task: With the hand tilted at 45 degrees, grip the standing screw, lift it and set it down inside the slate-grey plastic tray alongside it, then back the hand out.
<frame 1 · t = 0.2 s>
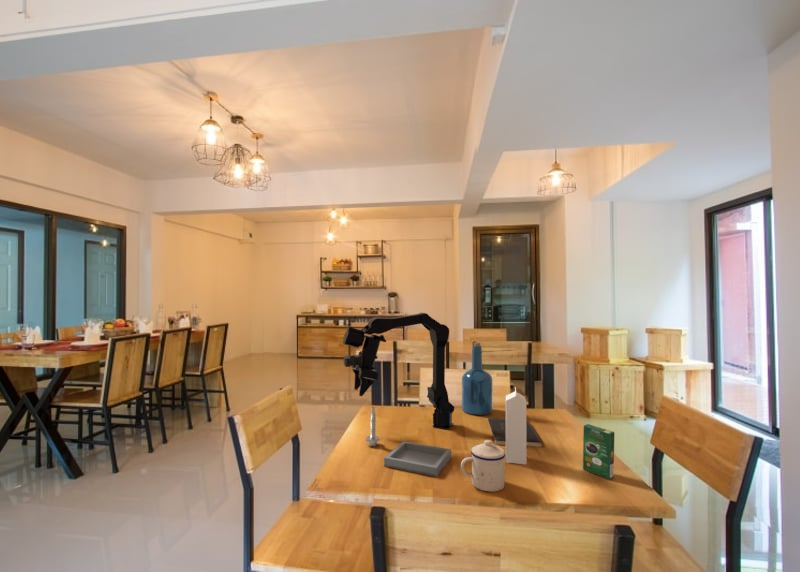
hand: (358, 392, 142), 15 cm above the table, tool tilted 15°, fingers open, 9 cm apart
hardcover book: (513, 435, 144), on the table
wine bottle: (477, 412, 171), on the table
tray: (418, 461, 120), on the table
teacup with lid: (482, 485, 106), on the table
screw: (372, 445, 133), on the table
coffee box: (598, 474, 112), on the table
milk: (515, 460, 121), on the table
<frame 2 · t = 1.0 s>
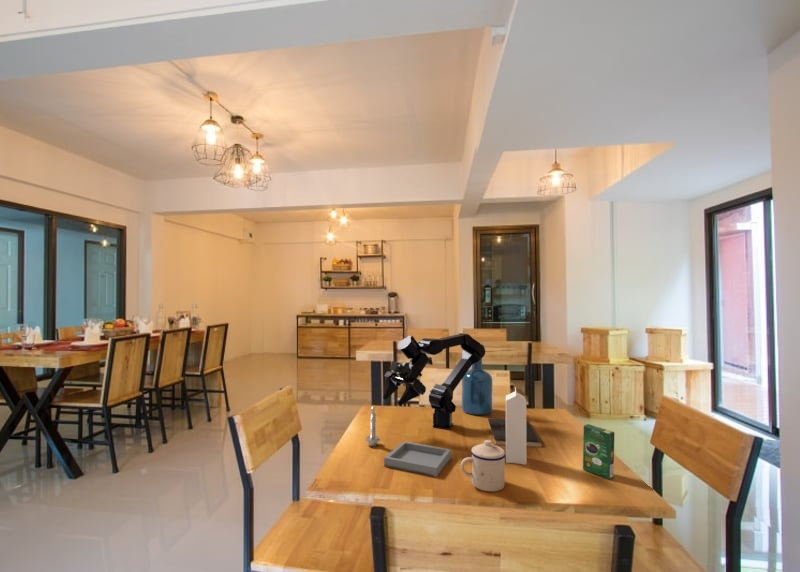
hand: (391, 401, 138), 13 cm above the table, tool tilted 45°, fingers open, 9 cm apart
nothing on the table moved.
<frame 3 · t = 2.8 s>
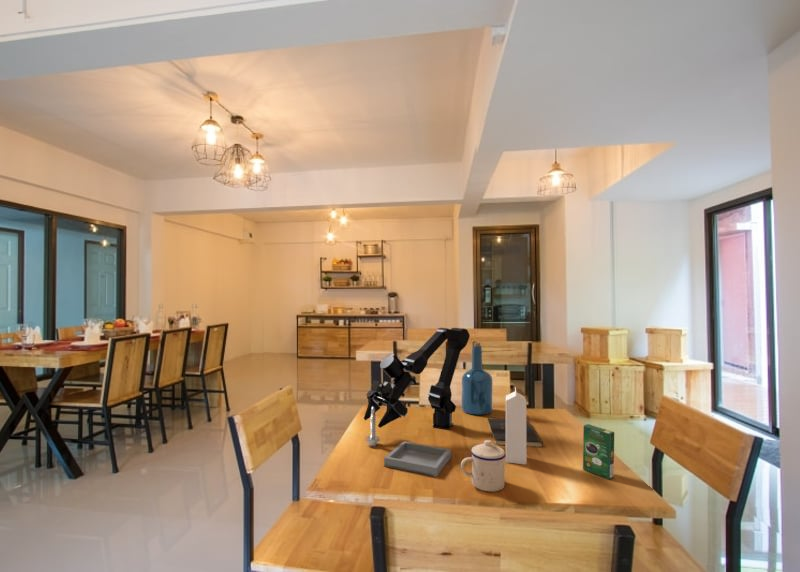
hand: (371, 423, 133), 7 cm above the table, tool tilted 45°, fingers open, 9 cm apart
nothing on the table moved.
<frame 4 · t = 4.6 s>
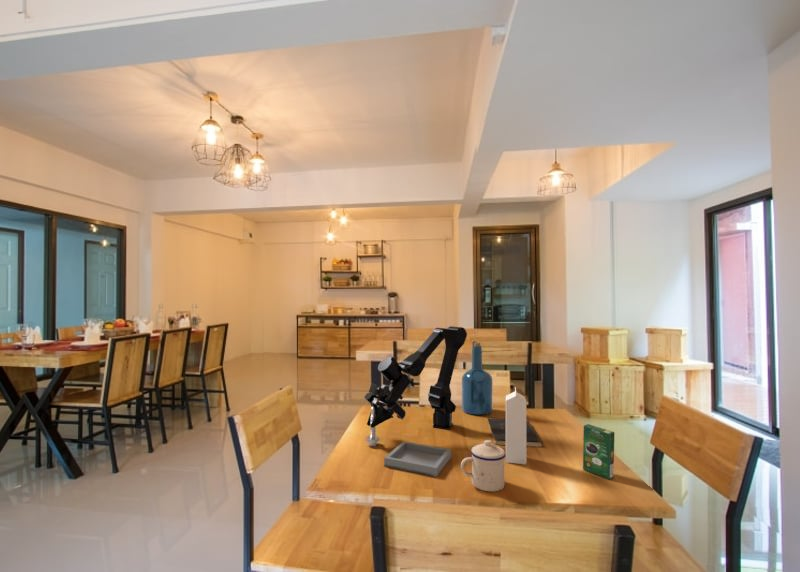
hand: (369, 426, 132), 7 cm above the table, tool tilted 45°, fingers closed on screw, 2 cm apart
screw: (372, 445, 133), on the table, touching gripper
everything else where it was.
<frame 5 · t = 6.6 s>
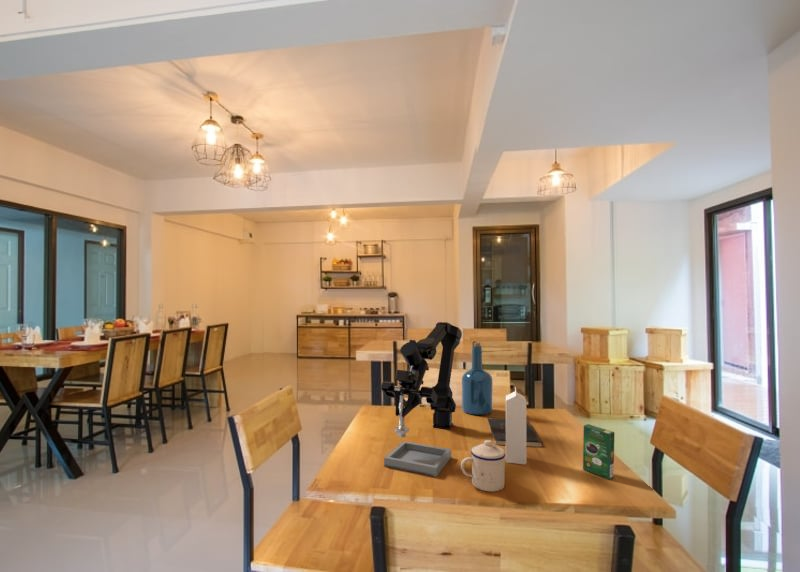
hand: (399, 416, 122), 13 cm above the table, tool tilted 45°, fingers closed on screw
screw: (401, 436, 123), point 6 cm above the table, touching gripper
everything else where it was.
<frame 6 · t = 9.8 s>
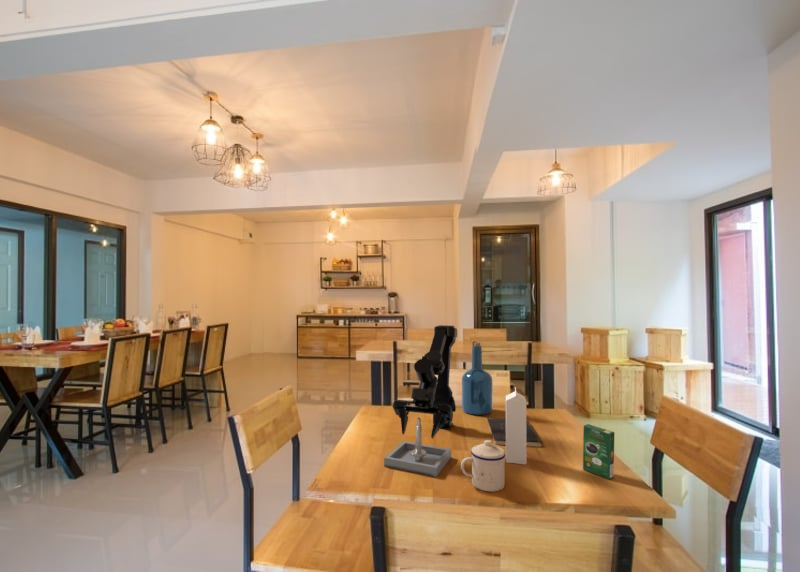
hand: (417, 435, 118), 8 cm above the table, tool tilted 45°, fingers open, 9 cm apart
screw: (418, 460, 120), resting in tray
everything else where it was.
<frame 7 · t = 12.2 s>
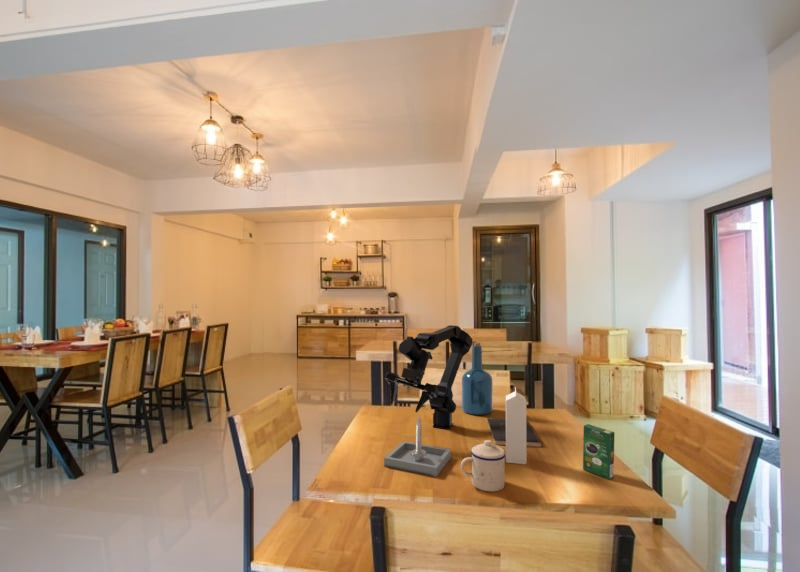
hand: (403, 408, 133), 12 cm above the table, tool tilted 30°, fingers open, 9 cm apart
nothing on the table moved.
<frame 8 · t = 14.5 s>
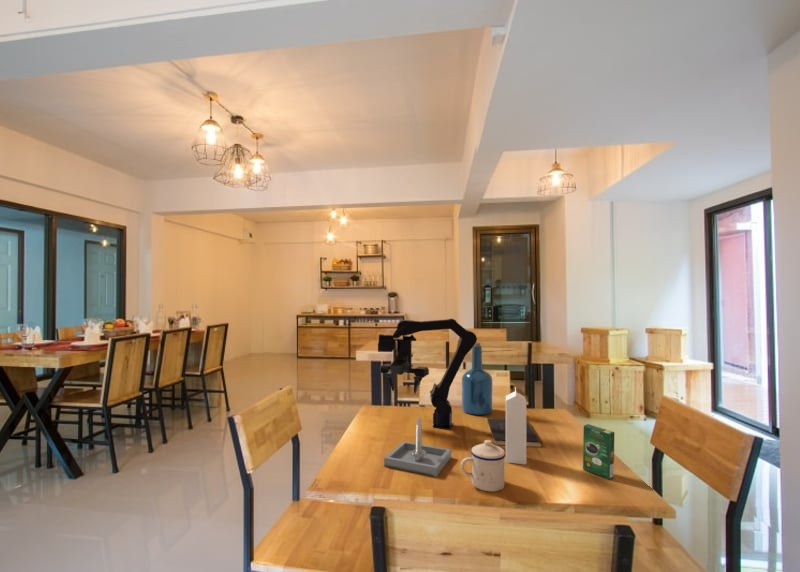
hand: (404, 392, 152), 13 cm above the table, tool pointing down, fingers open, 9 cm apart
nothing on the table moved.
at the end: screw inside the target area on the tray (0.1 cm from its centre), point 0.4 cm above the tray's base; the gripper is holding nothing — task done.
